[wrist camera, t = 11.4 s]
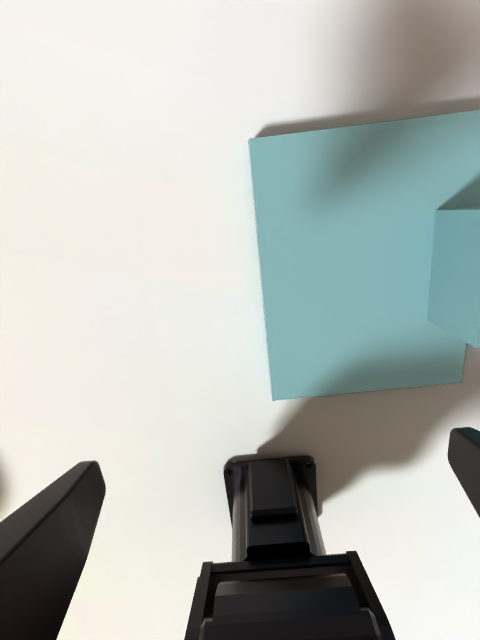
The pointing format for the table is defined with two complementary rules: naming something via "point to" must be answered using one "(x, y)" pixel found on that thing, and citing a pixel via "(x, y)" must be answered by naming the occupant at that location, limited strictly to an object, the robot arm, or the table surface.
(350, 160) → the lid
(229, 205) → the table surface
